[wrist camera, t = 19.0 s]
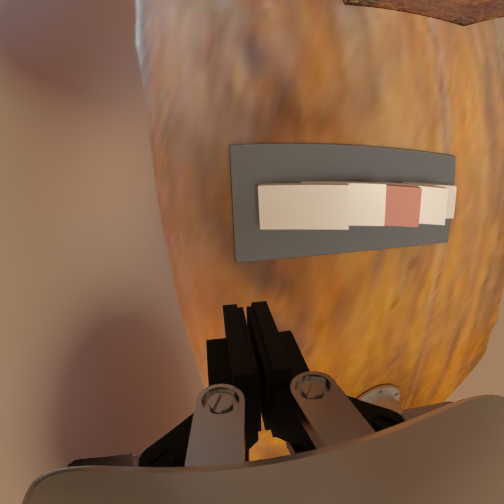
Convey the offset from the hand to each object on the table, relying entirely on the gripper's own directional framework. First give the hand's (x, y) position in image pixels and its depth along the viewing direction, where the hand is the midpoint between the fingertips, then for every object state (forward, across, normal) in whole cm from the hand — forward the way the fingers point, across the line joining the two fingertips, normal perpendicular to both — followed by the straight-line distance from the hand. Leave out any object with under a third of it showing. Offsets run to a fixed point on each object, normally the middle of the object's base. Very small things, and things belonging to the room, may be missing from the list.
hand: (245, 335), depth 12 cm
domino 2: (+24, -10, 0) cm, 26 cm away
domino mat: (+25, -19, 0) cm, 31 cm away
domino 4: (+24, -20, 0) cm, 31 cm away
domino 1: (+24, -5, 0) cm, 24 cm away
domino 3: (+24, -15, 0) cm, 28 cm away
